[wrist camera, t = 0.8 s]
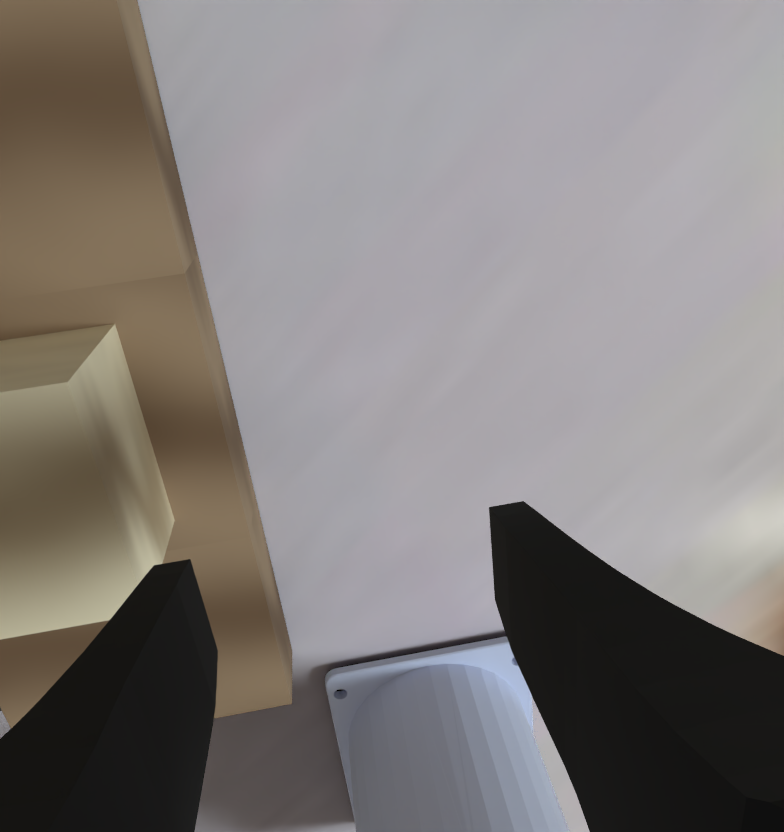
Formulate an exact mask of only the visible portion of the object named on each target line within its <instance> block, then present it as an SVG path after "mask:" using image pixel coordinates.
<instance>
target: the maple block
mask: <svg viewBox="0 0 784 832" xmlns="http://www.w3.org/2000/svg"><path fill="white" fill-rule="evenodd" d="M174 521H175V520H174V516H173V513H172V510H171V507H170V503H169V500H168V497H167V493H166V490H165V487H164V484H163V480H162V477H161V474H160V470H159V467H158V464H157V461H156V457H155V454H154V451H153V447H152V444H151V441H150V438H149V434H148V431H147V428H146V424H145V421H144V418H143V414H142V411H141V408H140V405H139V401H138V398H137V395H136V391H135V388H134V385H133V382H132V378H131V375H130V372H129V368H128V365H127V362H126V359H125V355H124V352H123V349H122V345H121V342H120V339H119V336H118V332H117V329H116V326H115V324H110V325H103V326H96V327H90V328H83V329H76V330H70V331H63V332H56V333H49V334H43V335H36V336H29V337H22V338H16V339H9V340H2V341H0V640H1V639H7V638H12V637H18V636H23V635H29V634H35V633H40V632H46V631H52V630H57V629H63V628H68V627H74V626H80V625H85V624H91V623H97V622H102V621H108V620H110V619H111V618H112V617H113V615H114V614H115V613H116V612H117V610H118V609H119V608H120V607H121V605H122V604H123V603H124V602H125V600H126V599H127V598H128V597H129V595H130V594H131V593H132V592H133V590H134V589H135V588H136V587H137V585H138V584H139V583H140V582H141V580H142V579H143V578H144V577H145V575H146V574H147V573H148V572H149V571H150V569H151V568H152V567H153V566H154V565H159V564H162V563H163V560H164V556H165V553H166V549H167V546H168V542H169V539H170V535H171V532H172V528H173V525H174Z"/></svg>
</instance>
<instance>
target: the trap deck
mask: <svg viewBox="0 0 784 832" xmlns="http://www.w3.org/2000/svg"><path fill="white" fill-rule="evenodd" d="M110 324H115V326H116V329H117V332H118V336H119V339H120V342H121V345H122V349H123V352H124V355H125V359H126V362H127V365H128V368H129V372H130V375H131V378H132V382H133V385H134V388H135V391H136V395H137V398H138V401H139V405H140V408H141V411H142V414H143V418H144V421H145V424H146V428H147V431H148V434H149V438H150V441H151V444H152V447H153V451H154V454H155V457H156V461H157V464H158V467H159V470H160V474H161V477H162V480H163V484H164V487H165V490H166V493H167V497H168V500H169V503H170V507H171V510H172V513H173V516H174V520H175V521H174V525H173V528H172V532H171V535H170V539H169V542H168V546H167V549H166V553H165V556H164V560H163V563H162V564H164V563H170V562H176V561H182V560H187V559H191V563H192V566H193V569H194V573H195V576H196V579H197V583H198V586H199V589H200V593H201V596H202V599H203V603H204V606H205V609H206V613H207V616H208V619H209V623H210V626H211V629H212V633H213V636H214V639H215V643H216V646H217V649H218V662H217V688H216V707H215V713H214V719H215V718H220V717H225V716H231V715H236V714H241V713H246V712H252V711H257V710H262V709H267V708H273V707H278V706H283V705H289V704H292V648H291V644H290V640H289V635H288V631H287V627H286V623H285V619H284V614H283V610H282V606H281V602H280V598H279V593H278V589H277V585H276V581H275V577H274V572H273V568H272V564H271V560H270V556H269V551H268V547H267V543H266V539H265V535H264V531H263V526H262V522H261V518H260V514H259V510H258V505H257V501H256V497H255V493H254V489H253V484H252V480H251V476H250V472H249V468H248V463H247V459H246V455H245V451H244V447H243V442H242V438H241V434H240V430H239V426H238V421H237V417H236V413H235V409H234V405H233V400H232V396H231V392H230V388H229V384H228V379H227V375H226V371H225V367H224V363H223V358H222V354H221V350H220V346H219V342H218V337H217V333H216V329H215V325H214V321H213V316H212V312H211V308H210V304H209V300H208V296H207V291H206V287H205V283H204V279H203V275H202V270H201V266H200V262H199V258H198V254H197V249H196V245H195V241H194V237H193V233H192V228H191V224H190V220H189V216H188V212H187V207H186V203H185V199H184V195H183V191H182V186H181V182H180V178H179V174H178V170H177V165H176V161H175V157H174V153H173V149H172V144H171V140H170V136H169V132H168V128H167V123H166V119H165V115H164V111H163V107H162V102H161V98H160V94H159V90H158V86H157V82H156V77H155V73H154V69H153V65H152V61H151V56H150V52H149V48H148V44H147V40H146V35H145V31H144V27H143V23H142V19H141V14H140V10H139V6H138V2H137V0H0V341H2V340H9V339H16V338H22V337H29V336H36V335H43V334H49V333H56V332H63V331H70V330H76V329H83V328H90V327H96V326H103V325H110ZM108 621H109V620H108ZM108 621H102V622H97V623H91V624H85V625H80V626H74V627H68V628H63V629H57V630H52V631H46V632H40V633H35V634H29V635H23V636H18V637H12V638H7V639H1V640H0V711H2V712H3V714H4V716H5V718H6V720H7V721H8V723H9V725H10V727H11V728H12V727H13V726H14V725H15V724H16V723H17V722H18V721H19V720H20V719H21V718H22V717H24V716H25V715H26V714H27V713H28V711H29V710H30V709H31V708H32V707H33V706H34V705H35V704H36V703H37V702H38V701H39V700H40V699H41V698H42V697H43V696H44V695H45V694H46V692H47V691H48V690H49V689H50V688H51V687H52V686H53V685H54V684H55V683H56V681H57V680H58V679H59V678H60V677H61V676H62V675H63V674H64V673H65V672H66V670H67V669H68V668H69V667H70V666H71V665H72V664H73V663H74V662H75V661H76V659H77V658H78V657H79V656H80V655H81V654H82V653H83V652H84V650H85V649H86V648H87V647H88V646H89V644H90V643H91V642H92V641H93V640H94V638H95V637H96V636H97V635H98V634H99V632H100V631H101V630H102V629H103V628H104V626H105V625H106V624H107V623H108Z"/></svg>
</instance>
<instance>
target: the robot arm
mask: <svg viewBox="0 0 784 832" xmlns="http://www.w3.org/2000/svg"><path fill="white" fill-rule="evenodd" d="M489 513H490V528H491V544H492V559H493V575H494V590H495V601H496V604H497V607H498V611H499V614H500V617H501V620H502V623H503V626H504V630H505V633H506V637H500V638H495V639H489V640H484V641H479V642H473V643H468V644H463V645H457V646H452V647H447V648H441V649H436V650H431V651H425V652H420V653H415V654H409V655H404V656H398V657H393V658H388V659H382V660H377V661H372V662H366V663H361V664H356V665H350V666H345V667H340V668H335V669H332V670H330V671H329V672H328V673H327V674H326V676H325V687H326V691H327V696H328V700H329V705H330V710H331V714H332V719H333V724H334V728H335V733H336V737H337V742H338V747H339V751H340V756H341V760H342V765H343V770H344V774H345V779H346V784H347V788H348V793H349V797H350V802H351V807H352V811H353V816H354V820H355V826H356V832H570V831H569V828H568V825H567V823H566V820H565V817H564V815H563V812H562V809H561V807H560V804H559V802H558V799H557V796H556V794H555V791H554V788H553V786H552V783H551V780H550V778H549V775H548V773H547V770H546V767H545V765H544V762H543V759H542V757H541V754H540V751H539V749H538V746H537V744H536V741H535V738H534V736H533V717H532V697H533V699H534V701H535V703H536V705H537V707H538V710H539V712H540V714H541V716H542V718H543V720H544V722H545V725H546V727H547V729H548V731H549V733H550V735H551V738H552V740H553V742H554V744H555V746H556V748H557V750H558V753H559V755H560V757H561V759H562V761H563V763H564V765H565V768H566V770H567V772H568V775H569V777H570V780H571V782H572V784H573V787H574V789H575V792H576V794H577V797H578V800H579V802H580V805H581V808H582V811H583V814H584V816H585V819H586V822H587V825H588V828H589V831H590V832H784V656H783V655H780V654H778V653H775V652H773V651H771V650H768V649H766V648H764V647H761V646H759V645H757V644H754V643H752V642H750V641H747V640H745V639H743V638H740V637H738V636H736V635H733V634H731V633H729V632H727V631H725V630H723V629H721V628H718V627H716V626H714V625H712V624H710V623H708V622H706V621H704V620H702V619H701V618H699V617H697V616H695V615H693V614H691V613H689V612H687V611H685V610H683V609H681V608H679V607H677V606H675V605H674V604H672V603H670V602H668V601H666V600H665V599H663V598H661V597H659V596H658V595H656V594H654V593H652V592H651V591H649V590H648V589H646V588H644V587H643V586H641V585H640V584H638V583H636V582H635V581H633V580H631V579H630V578H628V577H627V576H625V575H623V574H622V573H620V572H619V571H617V570H616V569H614V568H613V567H611V566H610V565H608V564H607V563H605V562H604V561H603V560H601V559H600V558H598V557H597V556H595V555H594V554H593V553H591V552H590V551H588V550H587V549H586V548H584V547H583V546H581V545H580V544H579V543H577V542H576V541H575V540H573V539H572V538H571V537H569V536H568V535H567V534H565V533H564V532H563V531H561V530H560V529H559V528H558V527H556V526H555V525H554V524H552V523H551V522H550V521H549V520H547V519H546V518H545V517H543V516H542V515H541V514H539V513H538V512H537V511H536V510H534V509H533V508H532V507H530V506H529V505H528V504H526V503H525V502H524V501H522V502H517V503H511V504H505V505H499V506H493V507H489ZM514 657H515V658H514ZM217 662H218V649H217V646H216V643H215V639H214V636H213V633H212V629H211V626H210V623H209V619H208V616H207V613H206V609H205V606H204V603H203V599H202V596H201V593H200V589H199V586H198V583H197V579H196V576H195V573H194V569H193V566H192V563H191V559H187V560H182V561H176V562H170V563H164V564H159V565H154V566H153V567H152V568H151V569H150V571H149V572H148V573H147V574H146V575H145V577H144V578H143V579H142V580H141V582H140V583H139V584H138V585H137V587H136V588H135V589H134V590H133V592H132V593H131V594H130V595H129V597H128V598H127V599H126V600H125V602H124V603H123V604H122V605H121V607H120V608H119V609H118V610H117V612H116V613H115V614H114V615H113V617H112V618H111V619H110V620H109V621H108V623H107V624H106V625H105V626H104V628H103V629H102V630H101V631H100V632H99V634H98V635H97V636H96V637H95V638H94V640H93V641H92V642H91V643H90V644H89V646H88V647H87V648H86V649H85V650H84V652H83V653H82V654H81V655H80V656H79V657H78V658H77V659H76V661H75V662H74V663H73V664H72V665H71V666H70V667H69V668H68V669H67V670H66V672H65V673H64V674H63V675H62V676H61V677H60V678H59V679H58V680H57V681H56V683H55V684H54V685H53V686H52V687H51V688H50V689H49V690H48V691H47V692H46V694H45V695H44V696H43V697H42V698H41V699H40V700H39V701H38V702H37V703H36V704H35V705H34V706H33V707H32V708H31V709H30V710H29V711H28V713H27V714H26V715H25V716H24V717H22V718H21V719H20V720H19V721H18V722H17V723H16V724H15V725H14V726H13V727H12V728H11V729H10V730H9V731H8V732H7V733H6V734H5V735H4V736H3V737H2V738H1V739H0V832H194V830H195V824H196V819H197V813H198V807H199V801H200V796H201V790H202V784H203V778H204V773H205V767H206V761H207V756H208V750H209V744H210V738H211V732H212V726H213V720H214V713H215V707H216V688H217ZM339 689H344V690H343V691H336V690H339Z"/></svg>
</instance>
